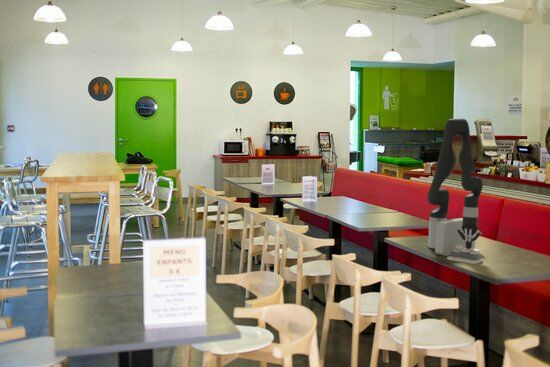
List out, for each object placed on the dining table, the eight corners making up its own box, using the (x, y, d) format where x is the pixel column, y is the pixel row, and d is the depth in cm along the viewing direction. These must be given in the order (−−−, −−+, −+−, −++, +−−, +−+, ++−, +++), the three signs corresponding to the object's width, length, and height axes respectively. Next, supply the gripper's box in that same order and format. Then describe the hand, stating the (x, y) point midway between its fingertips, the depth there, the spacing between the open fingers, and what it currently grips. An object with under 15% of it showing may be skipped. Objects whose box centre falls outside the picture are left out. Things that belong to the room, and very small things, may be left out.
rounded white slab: (462, 248, 377) (464, 216, 375) (474, 250, 371) (476, 218, 369) (431, 253, 359) (432, 220, 357) (442, 256, 353) (444, 222, 351)
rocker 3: (473, 250, 346) (473, 248, 346) (479, 251, 344) (479, 249, 344) (470, 253, 342) (470, 251, 342) (476, 254, 340) (476, 252, 340)
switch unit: (454, 256, 353) (455, 249, 353) (482, 260, 344) (483, 254, 344) (446, 259, 346) (447, 252, 345) (475, 264, 337) (475, 257, 336)
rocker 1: (457, 246, 351) (456, 245, 351) (463, 247, 349) (462, 245, 349) (453, 251, 348) (453, 249, 347) (459, 252, 346) (459, 250, 345)
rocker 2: (465, 249, 349) (465, 247, 349) (471, 250, 347) (471, 248, 347) (461, 251, 345) (461, 249, 345) (467, 252, 343) (467, 250, 343)
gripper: (485, 216, 345) (483, 249, 346) (461, 213, 353) (459, 245, 355) (480, 217, 339) (478, 251, 341) (455, 214, 347) (453, 247, 349)
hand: (468, 248), depth 348 cm, fingers closed
